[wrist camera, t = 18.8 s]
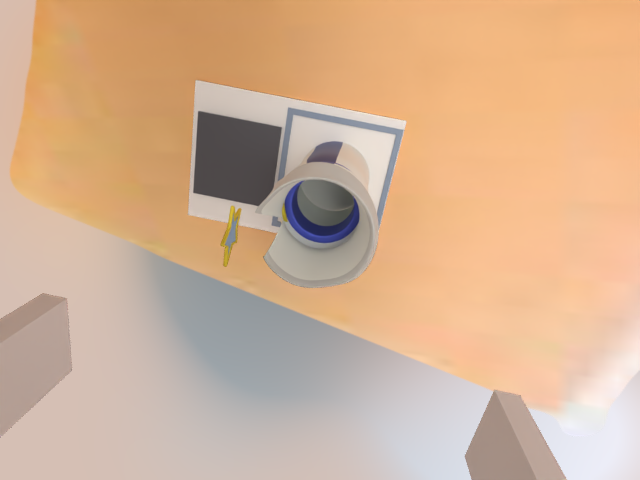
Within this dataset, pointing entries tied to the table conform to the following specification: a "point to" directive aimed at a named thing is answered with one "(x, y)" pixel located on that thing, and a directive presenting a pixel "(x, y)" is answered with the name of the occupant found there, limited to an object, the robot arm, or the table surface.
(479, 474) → the robot arm
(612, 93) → the table surface
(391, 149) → the stamp station
